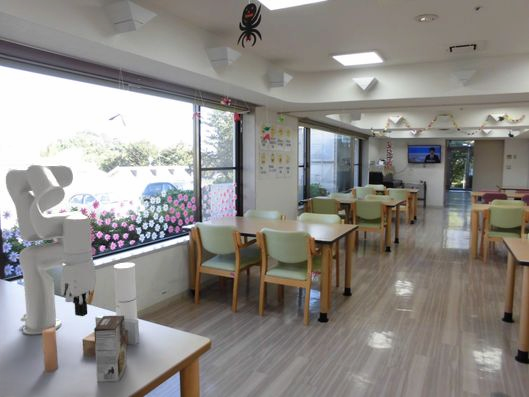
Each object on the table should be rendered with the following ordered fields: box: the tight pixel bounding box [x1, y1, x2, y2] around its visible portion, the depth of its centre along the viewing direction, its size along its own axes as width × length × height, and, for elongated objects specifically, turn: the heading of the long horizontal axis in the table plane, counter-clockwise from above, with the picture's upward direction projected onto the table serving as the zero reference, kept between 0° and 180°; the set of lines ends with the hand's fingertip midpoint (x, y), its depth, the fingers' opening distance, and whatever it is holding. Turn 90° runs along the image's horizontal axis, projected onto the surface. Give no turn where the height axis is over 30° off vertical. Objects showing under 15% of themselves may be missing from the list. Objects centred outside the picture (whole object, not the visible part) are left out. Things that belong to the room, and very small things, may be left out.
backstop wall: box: [94, 314, 140, 346], centre depth 138 cm, size 16×2×8 cm, turn 73°
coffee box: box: [93, 315, 128, 383], centre depth 117 cm, size 9×6×16 cm
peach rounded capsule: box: [41, 328, 59, 372], centre depth 120 cm, size 4×4×12 cm
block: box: [81, 330, 129, 357], centre depth 133 cm, size 10×10×5 cm
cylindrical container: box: [113, 262, 138, 320], centre depth 144 cm, size 7×7×25 cm
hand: (81, 314), depth 122 cm, fingers closed
